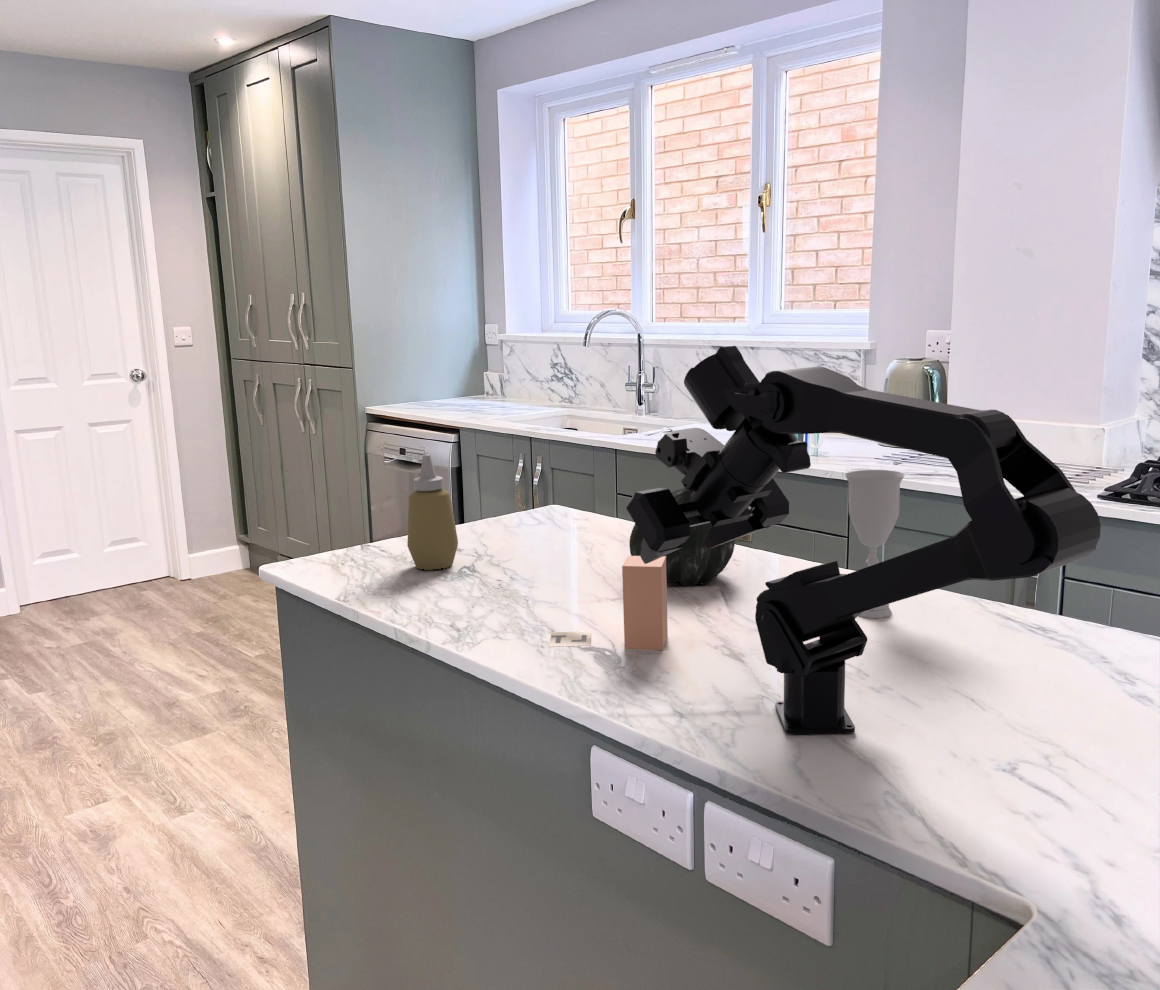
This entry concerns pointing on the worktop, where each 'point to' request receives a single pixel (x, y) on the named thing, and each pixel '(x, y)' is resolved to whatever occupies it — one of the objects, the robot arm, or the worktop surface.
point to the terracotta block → (645, 603)
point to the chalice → (874, 514)
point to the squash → (690, 552)
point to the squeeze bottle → (431, 521)
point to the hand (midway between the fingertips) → (675, 552)
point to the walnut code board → (578, 639)
